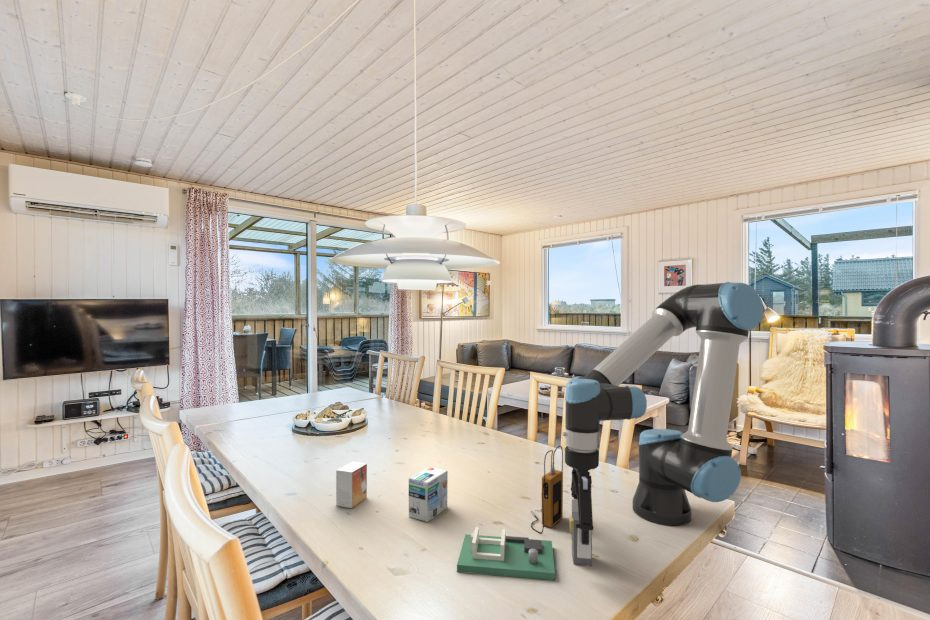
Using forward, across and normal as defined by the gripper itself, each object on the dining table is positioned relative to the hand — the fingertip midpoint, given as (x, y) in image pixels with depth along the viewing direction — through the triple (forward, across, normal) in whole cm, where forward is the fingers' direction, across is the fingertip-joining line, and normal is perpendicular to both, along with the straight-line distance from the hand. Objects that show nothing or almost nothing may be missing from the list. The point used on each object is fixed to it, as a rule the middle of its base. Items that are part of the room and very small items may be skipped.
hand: (580, 540), depth 100 cm
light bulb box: (+5, -18, -40) cm, 44 cm away
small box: (+5, -21, -64) cm, 67 cm away
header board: (+5, +2, -17) cm, 17 cm away
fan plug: (+4, 0, 0) cm, 5 cm away
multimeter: (+5, -19, -8) cm, 21 cm away
